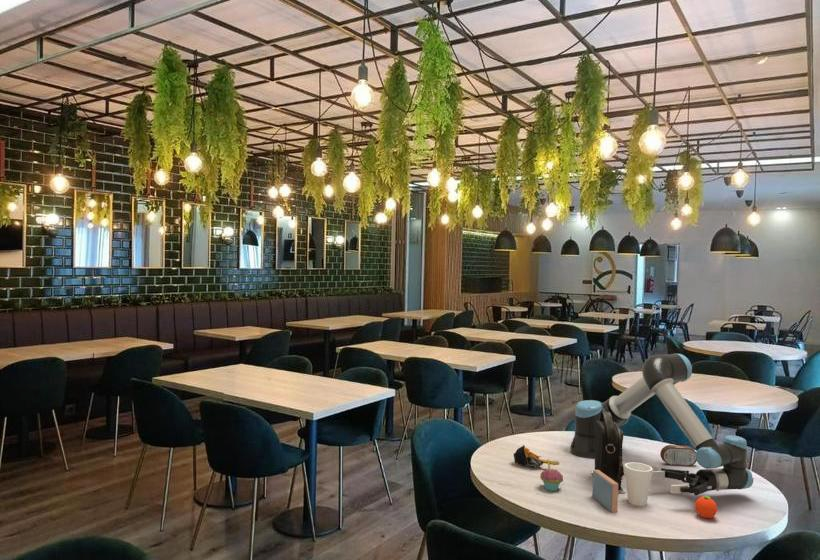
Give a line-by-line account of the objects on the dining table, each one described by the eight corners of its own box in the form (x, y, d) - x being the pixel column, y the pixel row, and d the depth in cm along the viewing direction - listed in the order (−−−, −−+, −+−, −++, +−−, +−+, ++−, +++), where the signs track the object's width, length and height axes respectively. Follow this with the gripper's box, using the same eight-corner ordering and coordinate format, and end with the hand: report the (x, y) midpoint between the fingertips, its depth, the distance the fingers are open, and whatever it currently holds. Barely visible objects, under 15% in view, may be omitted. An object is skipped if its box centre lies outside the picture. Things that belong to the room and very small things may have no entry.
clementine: (700, 510, 202) (701, 490, 202) (721, 517, 197) (722, 496, 197) (690, 516, 197) (691, 496, 197) (712, 523, 192) (713, 502, 192)
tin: (695, 464, 250) (696, 445, 250) (698, 467, 247) (698, 448, 247) (659, 462, 252) (660, 443, 252) (662, 465, 249) (662, 446, 248)
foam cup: (650, 499, 211) (651, 464, 211) (652, 509, 202) (653, 472, 202) (623, 495, 214) (624, 461, 214) (623, 505, 205) (624, 469, 205)
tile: (597, 496, 213) (598, 469, 213) (617, 512, 199) (618, 483, 199) (591, 496, 212) (592, 469, 212) (611, 512, 199) (612, 484, 198)
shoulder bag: (589, 471, 239) (591, 404, 239) (612, 472, 238) (614, 405, 237) (600, 491, 217) (602, 418, 216) (625, 493, 216) (627, 420, 215)
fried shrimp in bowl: (512, 449, 251) (552, 439, 248) (519, 474, 246) (560, 465, 243) (509, 447, 243) (551, 436, 239) (516, 473, 238) (559, 463, 235)
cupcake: (550, 494, 213) (551, 462, 213) (535, 486, 221) (536, 455, 220) (567, 490, 217) (568, 459, 217) (552, 482, 225) (553, 452, 224)
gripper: (735, 503, 201) (681, 506, 197) (688, 477, 226) (639, 479, 222) (736, 482, 201) (681, 484, 197) (689, 458, 225) (640, 460, 222)
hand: (659, 482), depth 209 cm, fingers open, 13 cm apart
